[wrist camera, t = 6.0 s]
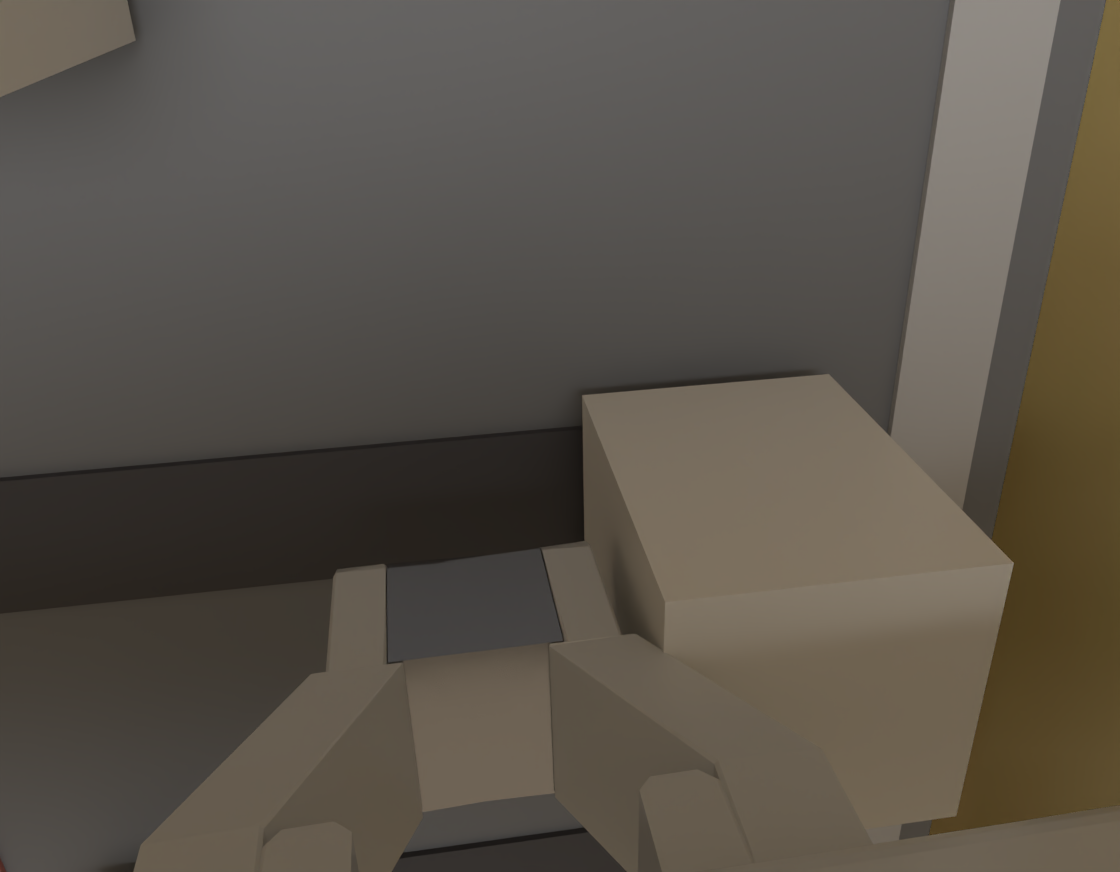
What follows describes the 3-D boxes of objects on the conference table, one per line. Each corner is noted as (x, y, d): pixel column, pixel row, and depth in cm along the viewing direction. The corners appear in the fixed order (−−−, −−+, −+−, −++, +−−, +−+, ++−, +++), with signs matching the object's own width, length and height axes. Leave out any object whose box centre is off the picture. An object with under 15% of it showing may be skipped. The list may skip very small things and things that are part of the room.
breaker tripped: (829, 374, 12) (1013, 563, 8) (806, 579, 13) (956, 815, 10) (582, 394, 11) (665, 601, 8) (585, 603, 13) (657, 859, 9)
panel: (1084, -483, 10) (1234, -573, 8) (861, 844, 20) (910, 939, 18) (-648, -524, 8) (-943, -653, 7) (13, 967, 18) (-33, 1089, 16)
